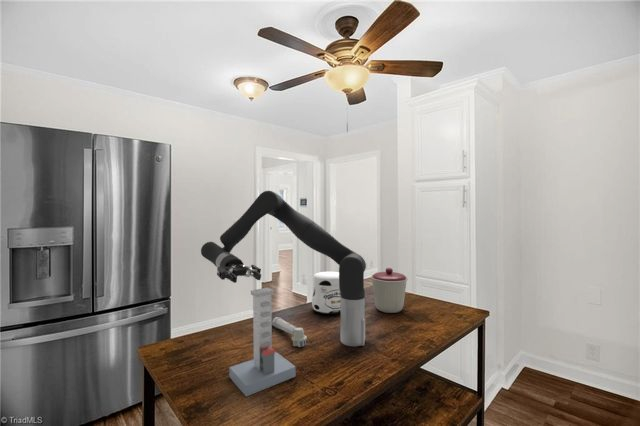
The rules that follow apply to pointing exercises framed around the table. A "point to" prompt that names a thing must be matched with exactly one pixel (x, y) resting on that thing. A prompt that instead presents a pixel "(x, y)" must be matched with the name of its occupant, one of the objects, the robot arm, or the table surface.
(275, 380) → the stand base
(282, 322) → the toothbrush head
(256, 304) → the column
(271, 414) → the table surface
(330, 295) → the milk container
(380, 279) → the canister
